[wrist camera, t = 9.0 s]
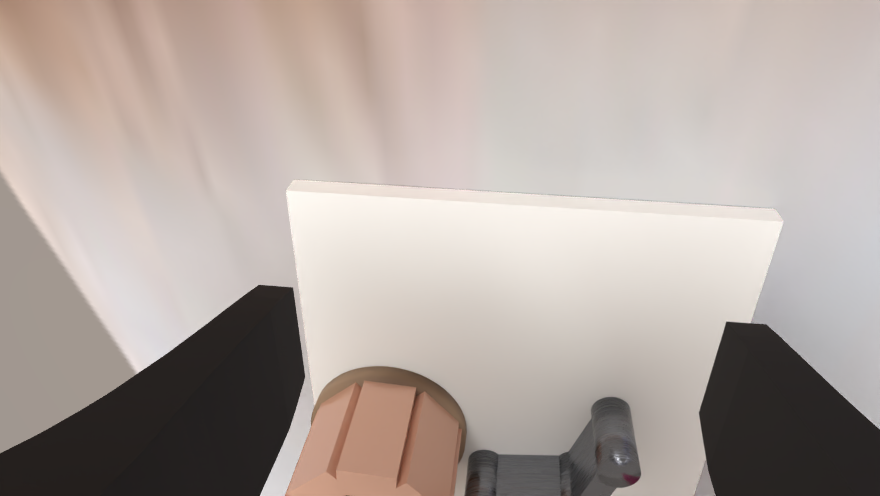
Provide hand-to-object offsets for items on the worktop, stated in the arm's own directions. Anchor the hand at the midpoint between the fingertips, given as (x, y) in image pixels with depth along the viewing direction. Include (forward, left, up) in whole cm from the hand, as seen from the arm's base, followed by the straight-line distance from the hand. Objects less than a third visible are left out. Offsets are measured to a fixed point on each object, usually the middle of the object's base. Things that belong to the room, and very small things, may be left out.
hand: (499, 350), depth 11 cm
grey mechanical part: (-2, +12, -9) cm, 15 cm away
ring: (+4, +12, -8) cm, 15 cm away
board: (0, +10, -10) cm, 14 cm away
